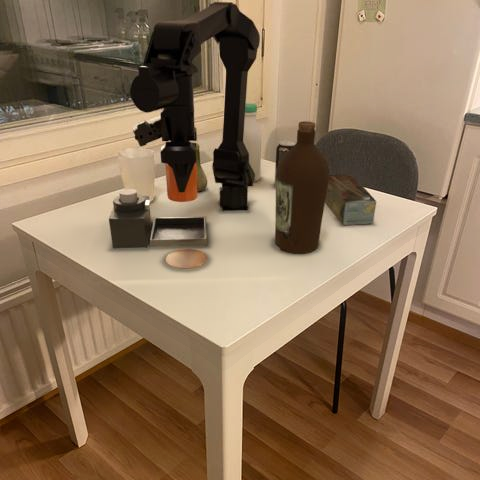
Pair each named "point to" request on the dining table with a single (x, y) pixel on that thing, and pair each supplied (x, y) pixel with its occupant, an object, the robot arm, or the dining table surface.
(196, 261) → the cork coaster
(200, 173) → the green gourd vase
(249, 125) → the milk bottle
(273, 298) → the dining table surface
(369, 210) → the beverage carton
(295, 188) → the olive oil
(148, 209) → the grey small block
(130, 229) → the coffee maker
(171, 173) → the orange cup
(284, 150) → the beverage can
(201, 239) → the drip tray
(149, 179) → the cup
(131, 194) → the button
